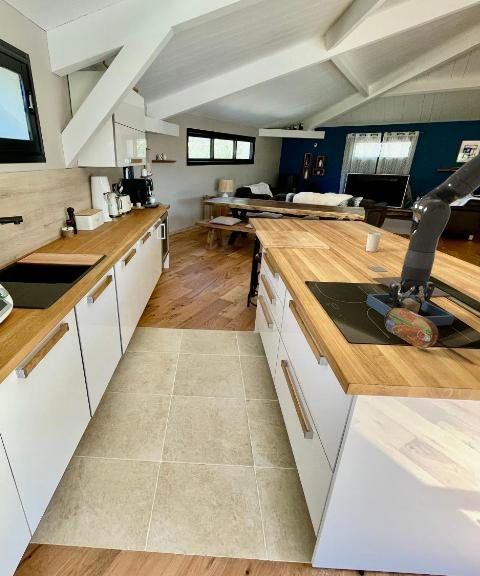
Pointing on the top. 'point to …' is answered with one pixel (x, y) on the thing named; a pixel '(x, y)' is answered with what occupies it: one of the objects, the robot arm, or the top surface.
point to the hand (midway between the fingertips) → (405, 312)
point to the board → (396, 280)
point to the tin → (411, 327)
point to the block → (411, 305)
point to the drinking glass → (373, 242)
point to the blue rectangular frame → (438, 314)
